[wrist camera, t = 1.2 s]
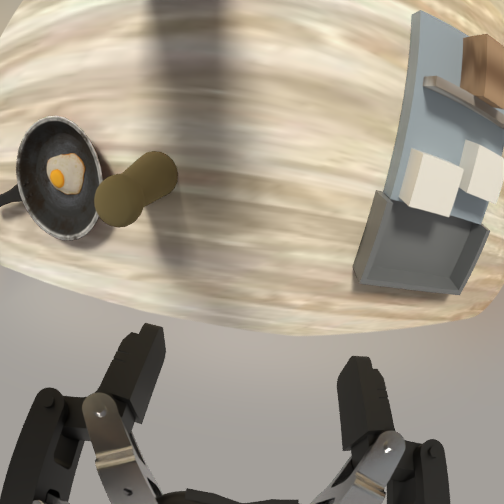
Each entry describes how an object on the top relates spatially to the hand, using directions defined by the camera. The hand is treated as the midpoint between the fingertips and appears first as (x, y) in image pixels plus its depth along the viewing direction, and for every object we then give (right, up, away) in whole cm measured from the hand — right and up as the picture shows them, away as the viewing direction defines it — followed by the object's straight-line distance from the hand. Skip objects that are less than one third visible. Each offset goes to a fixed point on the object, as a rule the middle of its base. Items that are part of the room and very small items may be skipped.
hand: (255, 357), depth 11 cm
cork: (-12, +14, +21) cm, 28 cm away
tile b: (+20, +13, +16) cm, 28 cm away
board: (+25, +21, +13) cm, 35 cm away
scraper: (+26, +26, +8) cm, 37 cm away
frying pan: (-34, +16, +23) cm, 44 cm away
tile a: (+28, +15, +14) cm, 34 cm away
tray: (+23, +6, +22) cm, 33 cm away
